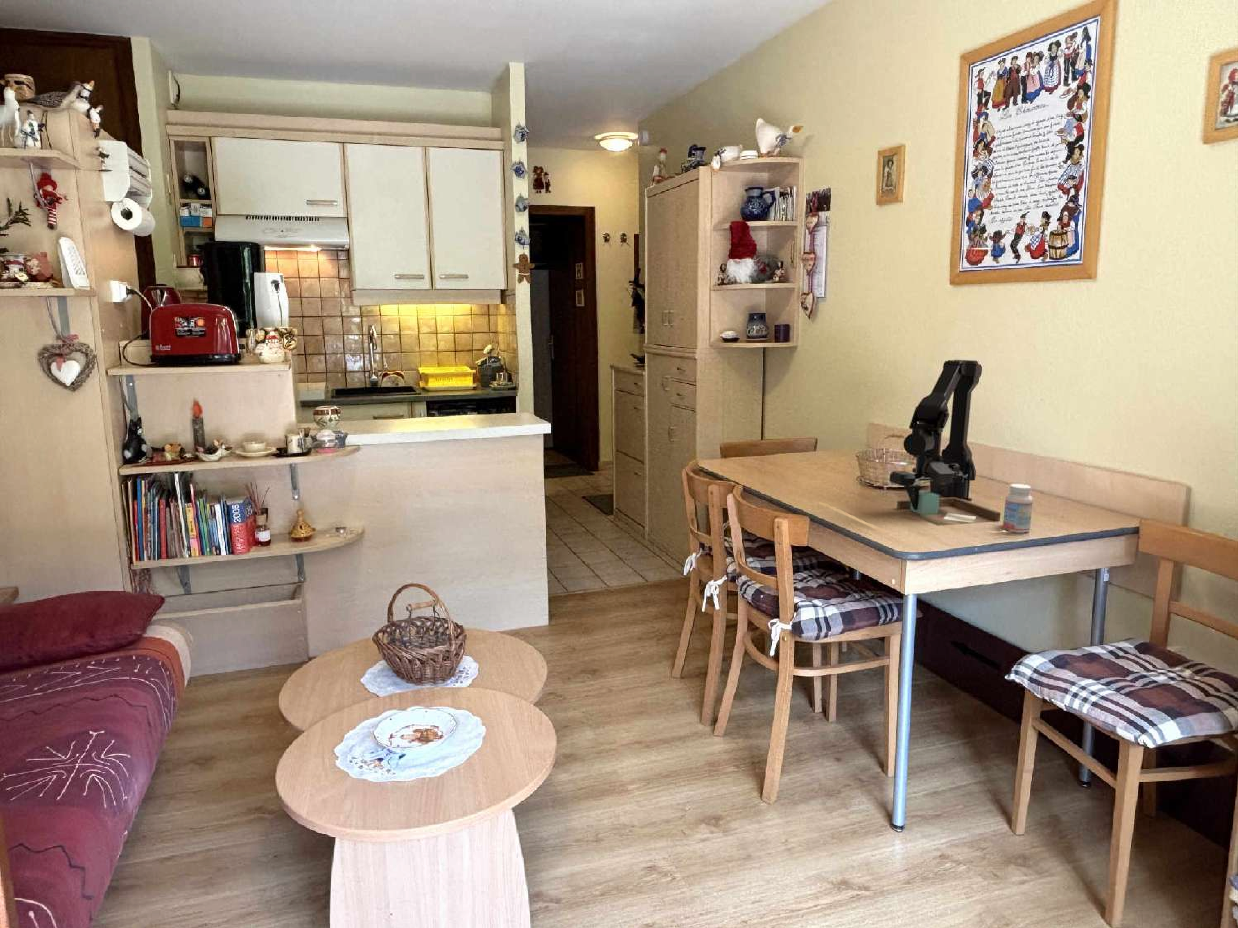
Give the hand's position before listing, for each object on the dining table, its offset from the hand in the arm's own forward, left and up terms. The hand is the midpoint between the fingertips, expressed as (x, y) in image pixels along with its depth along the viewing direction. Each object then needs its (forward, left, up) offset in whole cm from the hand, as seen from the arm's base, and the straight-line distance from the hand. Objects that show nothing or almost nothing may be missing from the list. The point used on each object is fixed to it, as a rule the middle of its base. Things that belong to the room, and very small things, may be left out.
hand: (924, 508), depth 219 cm
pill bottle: (-13, +19, -2) cm, 23 cm away
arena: (-4, +4, -2) cm, 6 cm away
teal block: (0, 0, -1) cm, 1 cm away
